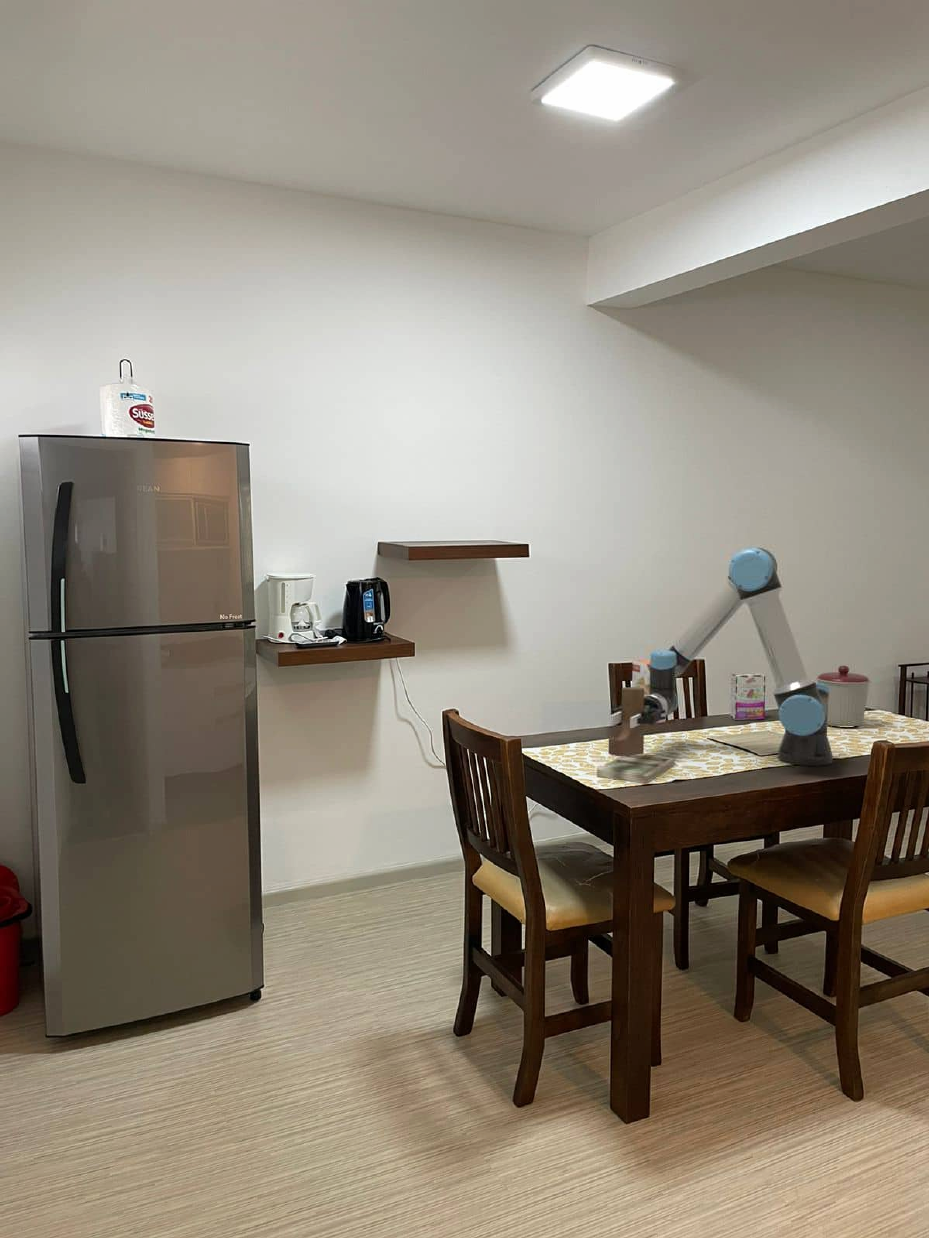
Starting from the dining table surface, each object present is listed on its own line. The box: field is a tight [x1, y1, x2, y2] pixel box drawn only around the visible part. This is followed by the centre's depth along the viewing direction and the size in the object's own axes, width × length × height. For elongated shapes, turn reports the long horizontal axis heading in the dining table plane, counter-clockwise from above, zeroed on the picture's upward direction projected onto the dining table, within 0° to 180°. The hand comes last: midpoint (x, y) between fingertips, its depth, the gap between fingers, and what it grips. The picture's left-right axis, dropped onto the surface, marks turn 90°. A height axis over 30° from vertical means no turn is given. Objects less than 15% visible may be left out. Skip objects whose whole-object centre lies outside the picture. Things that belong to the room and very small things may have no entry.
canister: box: [815, 665, 872, 727], centre depth 329 cm, size 18×18×21 cm
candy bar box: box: [730, 673, 766, 720], centre depth 339 cm, size 11×5×16 cm, turn 97°
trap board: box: [596, 753, 676, 784], centre depth 264 cm, size 14×24×2 cm, turn 150°
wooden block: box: [608, 686, 645, 757], centre depth 257 cm, size 9×4×18 cm, turn 121°
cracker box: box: [631, 659, 667, 725], centre depth 337 cm, size 14×6×21 cm, turn 22°
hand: (621, 721), depth 252 cm, fingers closed on wooden block, 5 cm apart
